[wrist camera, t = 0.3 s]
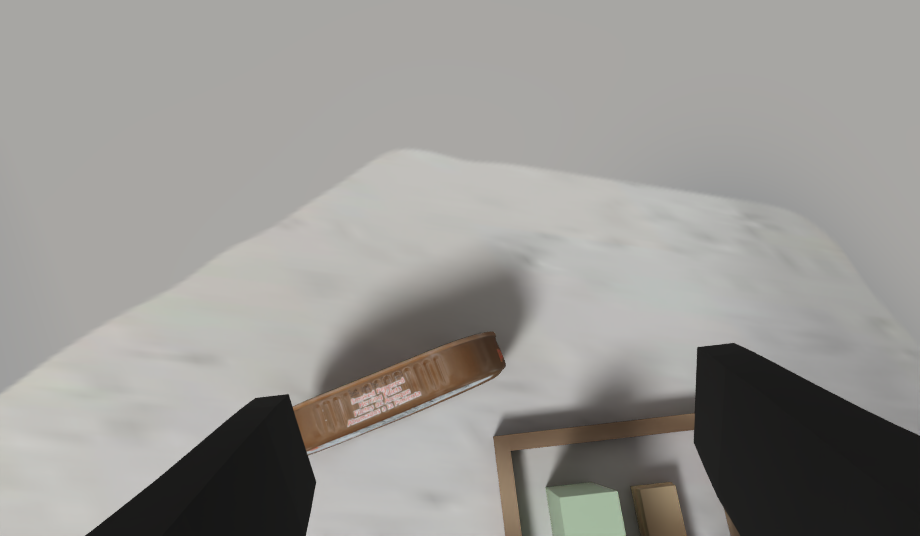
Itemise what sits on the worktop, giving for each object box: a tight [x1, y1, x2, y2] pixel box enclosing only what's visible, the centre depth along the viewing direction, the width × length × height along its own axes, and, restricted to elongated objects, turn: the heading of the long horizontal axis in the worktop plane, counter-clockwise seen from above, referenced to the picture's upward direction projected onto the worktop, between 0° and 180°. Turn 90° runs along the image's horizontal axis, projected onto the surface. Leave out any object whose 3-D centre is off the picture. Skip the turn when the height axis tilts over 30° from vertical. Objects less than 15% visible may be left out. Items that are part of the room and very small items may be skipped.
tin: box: [293, 332, 506, 455], centre depth 33 cm, size 15×3×8 cm, turn 112°
